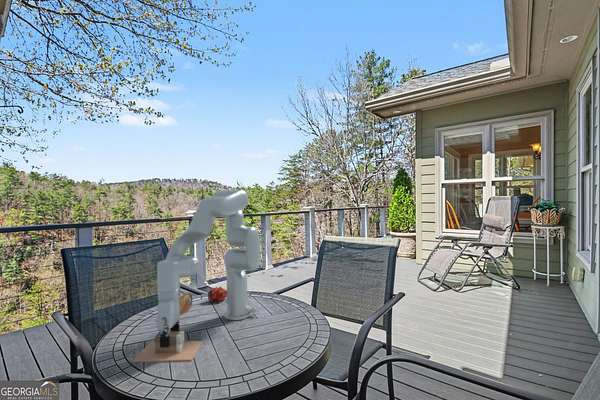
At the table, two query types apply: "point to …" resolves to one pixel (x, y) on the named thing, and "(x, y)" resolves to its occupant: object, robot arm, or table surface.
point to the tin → (185, 302)
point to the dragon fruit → (217, 294)
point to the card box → (171, 343)
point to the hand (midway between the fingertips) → (170, 340)
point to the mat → (185, 354)
